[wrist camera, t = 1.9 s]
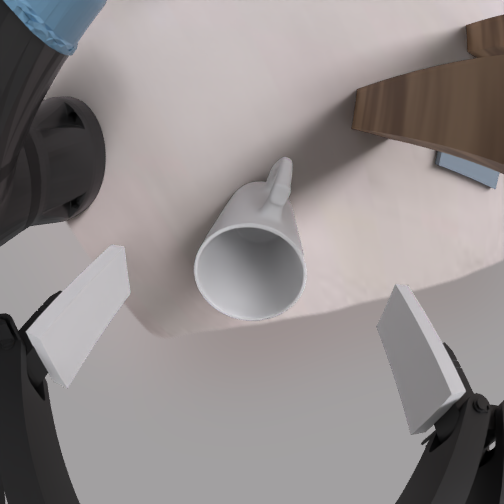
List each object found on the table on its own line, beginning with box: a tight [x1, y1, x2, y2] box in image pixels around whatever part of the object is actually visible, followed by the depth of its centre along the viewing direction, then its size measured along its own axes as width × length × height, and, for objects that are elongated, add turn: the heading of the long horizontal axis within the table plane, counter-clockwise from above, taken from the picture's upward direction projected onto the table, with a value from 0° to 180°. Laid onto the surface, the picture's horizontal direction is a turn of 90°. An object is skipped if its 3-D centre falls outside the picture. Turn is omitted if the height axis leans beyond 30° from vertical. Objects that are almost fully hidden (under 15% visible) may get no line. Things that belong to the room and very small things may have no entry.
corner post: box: [352, 55, 504, 174], centre depth 11 cm, size 4×4×22 cm
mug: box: [194, 157, 307, 321], centre depth 21 cm, size 10×7×12 cm, turn 160°
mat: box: [435, 151, 499, 189], centre depth 20 cm, size 10×10×1 cm
